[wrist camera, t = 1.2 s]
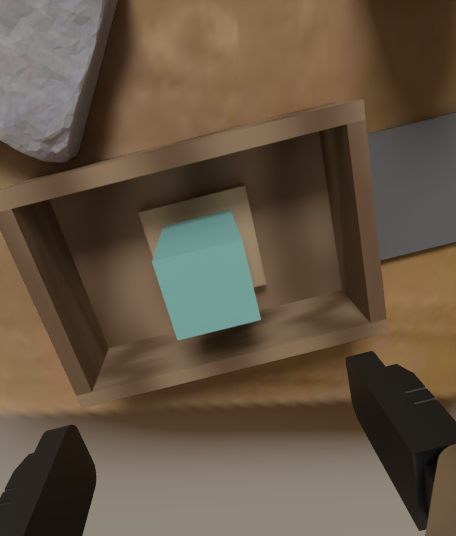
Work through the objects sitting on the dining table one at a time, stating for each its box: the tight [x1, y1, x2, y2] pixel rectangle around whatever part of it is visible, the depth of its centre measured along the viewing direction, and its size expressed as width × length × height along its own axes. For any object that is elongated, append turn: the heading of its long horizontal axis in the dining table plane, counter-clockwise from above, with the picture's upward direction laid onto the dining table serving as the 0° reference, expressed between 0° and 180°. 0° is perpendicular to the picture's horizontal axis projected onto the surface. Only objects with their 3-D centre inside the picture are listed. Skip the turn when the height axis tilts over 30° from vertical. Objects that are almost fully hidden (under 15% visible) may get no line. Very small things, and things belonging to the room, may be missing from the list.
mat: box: [367, 112, 456, 261], centre depth 28 cm, size 9×9×1 cm
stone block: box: [0, 0, 118, 163], centre depth 22 cm, size 12×5×10 cm
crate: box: [0, 99, 388, 408], centre depth 26 cm, size 20×14×6 cm
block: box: [152, 210, 261, 341], centre depth 23 cm, size 4×4×7 cm
